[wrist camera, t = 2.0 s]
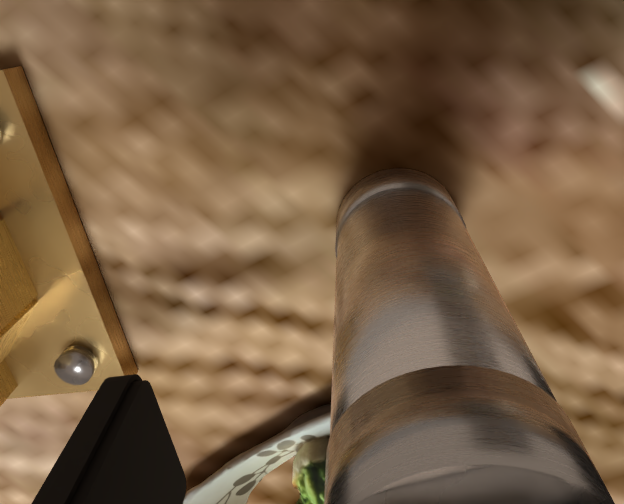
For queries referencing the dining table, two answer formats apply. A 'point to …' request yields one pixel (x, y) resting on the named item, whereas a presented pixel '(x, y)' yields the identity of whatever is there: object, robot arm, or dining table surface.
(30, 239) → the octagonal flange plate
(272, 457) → the avocado toast plate
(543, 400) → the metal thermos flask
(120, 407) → the robot arm
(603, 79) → the dining table surface
